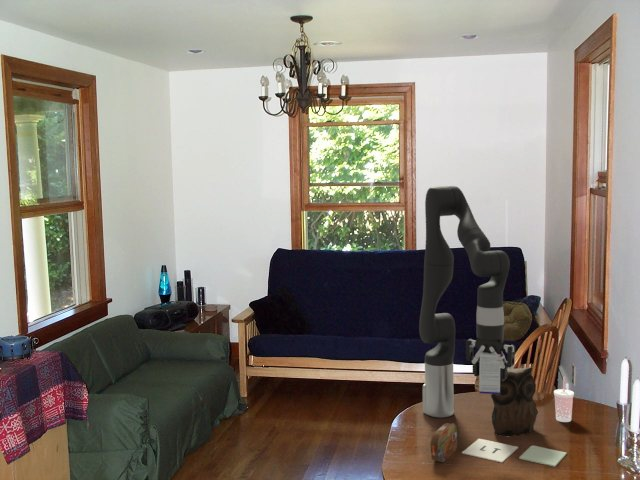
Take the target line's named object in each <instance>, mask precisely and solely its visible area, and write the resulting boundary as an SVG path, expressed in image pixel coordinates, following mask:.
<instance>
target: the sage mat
mask: <svg viewBox="0 0 640 480" xmlns="http://www.w3.org/2000/svg"><path fill="white" fill-rule="evenodd" d="M567 453H568V452H567V451H565V452H564V451H561V450H556V449H552V448H547V447H543V446H542V447H541V446H539V445H538V446H537V445H531V446H529V447H528V448H527V449H526V450H525V451H524V452H523V453H522V454H521V455H520V456H519V457H518V459H519V460H523V461H528V462H531V463H537V464H541V465H545V466H550V467H554V468H556V466H557V465H558V464H559V463H560V462H561V461H562V460H563V459H564V458H565V457H566V455H567Z"/></svg>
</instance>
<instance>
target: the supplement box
mask: <svg viewBox="0 0 640 480" xmlns="http://www.w3.org/2000/svg"><path fill="white" fill-rule="evenodd" d="M498 356H499V357H500V354H498ZM479 363H480V369H479V376H478V379H479V380H478V382H479V384H478V392H479V394H486V395H488V394H489V395H491V394H500V367H501V366H500V361H497V356H496V354H495V355H494V354H492V353H486V352H480V360H479Z"/></svg>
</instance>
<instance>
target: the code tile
mask: <svg viewBox="0 0 640 480" xmlns="http://www.w3.org/2000/svg"><path fill="white" fill-rule="evenodd" d="M518 449H519V446H516V445H511V444H507V443H501V442H497V441H492V440H488V439H483V438H477V439H476V440H475V441H474V442H473V443H472V444H471V445H469V446H467V448H466V449H464V450H463V451H461V454H462V455H467V456H471V457H476V458H479V459H484V460H489V461H491V462H492V461H493V462H497V463H504V462H505V461H506V460H507V459H508V458H509V457H510V456H511V455H512V454H513V453H514V452H515V451H517V450H518Z"/></svg>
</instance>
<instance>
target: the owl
mask: <svg viewBox="0 0 640 480" xmlns="http://www.w3.org/2000/svg"><path fill="white" fill-rule="evenodd" d="M532 371H533V367H532V366H531V367H530V366H529V367H522V368H521V367H520V368H514V369H508V370H507V378H506V379H505V380H504V381H500V394H490V397H491V399H492V402H493V409H492V414H491V423H492V427H493V430H494V431H493V433H494V434H495V435H496V434H497V435H496V436H498V435H501V437H507V436H510V438H511V436H512V437H514V436H520V435H521V434H522V435H528V434H530V433H531V432H532V431H533V430H534V426H535V424H536V420H537V417H538V414H539V411H538V408H537V403H536V402H535V401H534V399H533V397H534V395H535V394H536V391H537V390H536V389H537V388H536V387H537V384H536V380H535V377H534V376H533V374H532ZM513 435H514V436H513Z"/></svg>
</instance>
